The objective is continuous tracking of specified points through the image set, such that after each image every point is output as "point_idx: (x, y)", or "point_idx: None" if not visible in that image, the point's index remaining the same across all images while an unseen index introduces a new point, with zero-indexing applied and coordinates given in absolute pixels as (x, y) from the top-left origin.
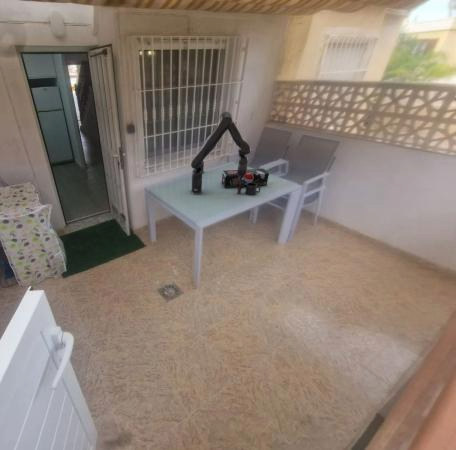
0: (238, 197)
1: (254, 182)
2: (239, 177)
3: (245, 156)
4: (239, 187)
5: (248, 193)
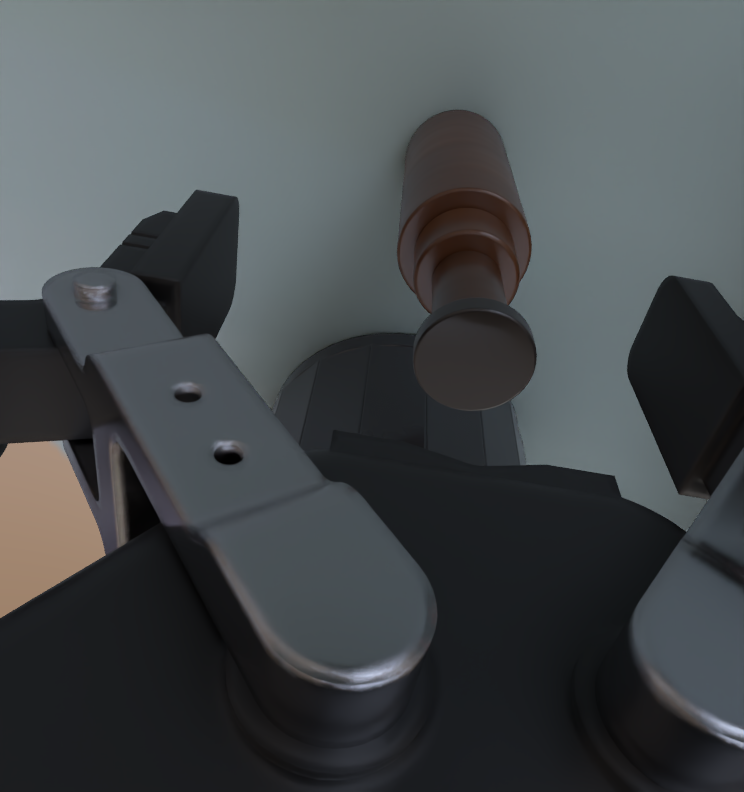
0: (141, 30)
1: None
2: (242, 589)
3: None
4: (422, 228)
5: (293, 388)
